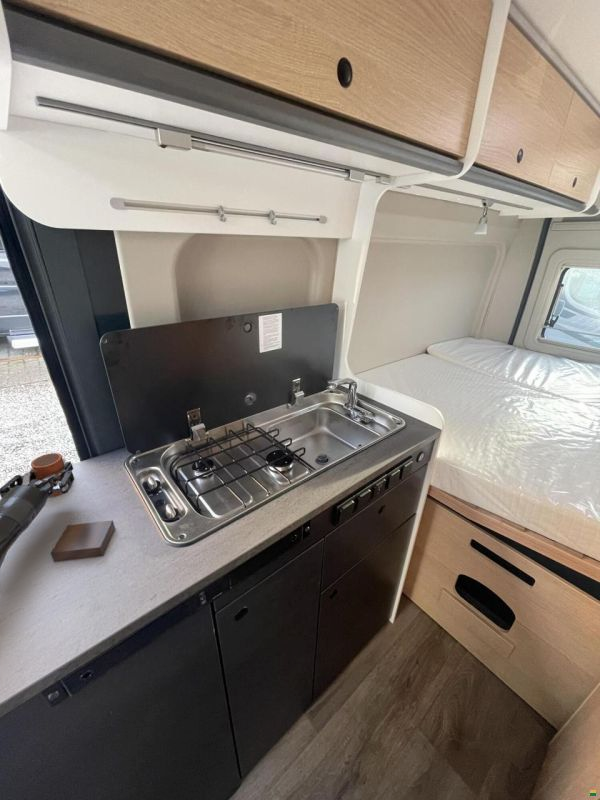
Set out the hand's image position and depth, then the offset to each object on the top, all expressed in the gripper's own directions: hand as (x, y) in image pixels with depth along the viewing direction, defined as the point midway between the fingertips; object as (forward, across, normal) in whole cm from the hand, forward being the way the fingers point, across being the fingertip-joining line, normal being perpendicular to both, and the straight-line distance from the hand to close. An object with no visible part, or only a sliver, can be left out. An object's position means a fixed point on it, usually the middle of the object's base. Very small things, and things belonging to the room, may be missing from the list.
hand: (55, 466), depth 84 cm
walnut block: (-16, -11, +13) cm, 23 cm away
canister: (-2, 0, +6) cm, 6 cm away
